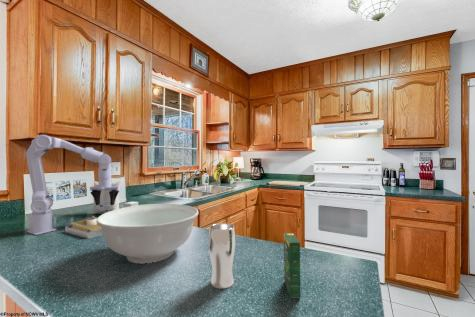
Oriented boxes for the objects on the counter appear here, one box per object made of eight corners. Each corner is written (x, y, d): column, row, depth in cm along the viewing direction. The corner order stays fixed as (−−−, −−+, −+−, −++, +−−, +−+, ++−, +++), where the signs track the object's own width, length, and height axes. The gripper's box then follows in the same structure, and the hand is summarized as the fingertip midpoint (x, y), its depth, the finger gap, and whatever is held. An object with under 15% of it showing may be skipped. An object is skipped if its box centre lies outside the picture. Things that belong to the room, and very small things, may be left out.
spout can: (84, 231, 109) (84, 216, 109) (93, 229, 113) (93, 214, 113) (89, 232, 107) (89, 217, 107) (98, 230, 111) (98, 215, 111)
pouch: (112, 217, 135) (112, 182, 135) (88, 214, 142) (88, 181, 142) (124, 214, 142) (123, 180, 142) (100, 212, 149) (100, 180, 149)
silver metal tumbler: (209, 276, 67) (209, 223, 67) (234, 275, 67) (234, 222, 67) (208, 290, 60) (208, 230, 60) (236, 289, 60) (235, 229, 60)
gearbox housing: (65, 232, 108) (65, 223, 108) (98, 224, 121) (98, 216, 121) (87, 238, 99) (87, 229, 99) (120, 229, 112) (120, 220, 112)
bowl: (174, 282, 64) (173, 227, 64) (70, 272, 70) (70, 222, 70) (209, 241, 96) (209, 204, 96) (136, 236, 102) (136, 202, 101)
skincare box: (131, 229, 112) (130, 203, 112) (123, 228, 113) (122, 203, 113) (138, 225, 118) (138, 201, 118) (131, 225, 119) (131, 201, 119)
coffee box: (283, 280, 64) (283, 232, 64) (294, 280, 64) (293, 232, 64) (288, 298, 56) (288, 242, 56) (301, 298, 56) (300, 242, 56)
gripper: (85, 178, 117) (85, 206, 117) (114, 178, 116) (114, 206, 116) (95, 177, 124) (95, 203, 124) (122, 177, 123) (122, 203, 124)
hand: (105, 204), depth 121 cm, fingers open, 7 cm apart
